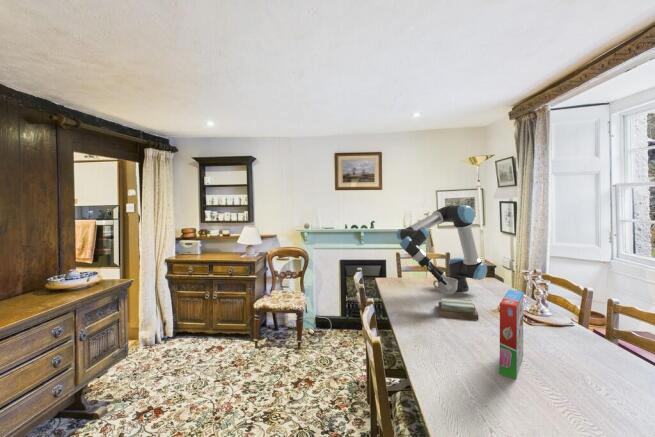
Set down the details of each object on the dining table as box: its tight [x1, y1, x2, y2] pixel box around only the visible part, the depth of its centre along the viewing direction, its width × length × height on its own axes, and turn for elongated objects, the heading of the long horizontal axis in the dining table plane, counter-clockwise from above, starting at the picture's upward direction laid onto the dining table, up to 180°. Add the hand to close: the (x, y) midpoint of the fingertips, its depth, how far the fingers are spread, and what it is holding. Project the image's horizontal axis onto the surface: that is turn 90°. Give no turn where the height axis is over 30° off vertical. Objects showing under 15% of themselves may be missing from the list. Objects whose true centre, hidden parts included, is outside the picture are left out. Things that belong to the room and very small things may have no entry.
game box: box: [499, 289, 524, 380], centre depth 115 cm, size 21×6×27 cm, turn 141°
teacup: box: [432, 276, 458, 295], centre depth 172 cm, size 14×11×8 cm
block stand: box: [438, 297, 479, 321], centre depth 172 cm, size 18×20×6 cm
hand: (450, 285), depth 172 cm, fingers closed on teacup, 11 cm apart
